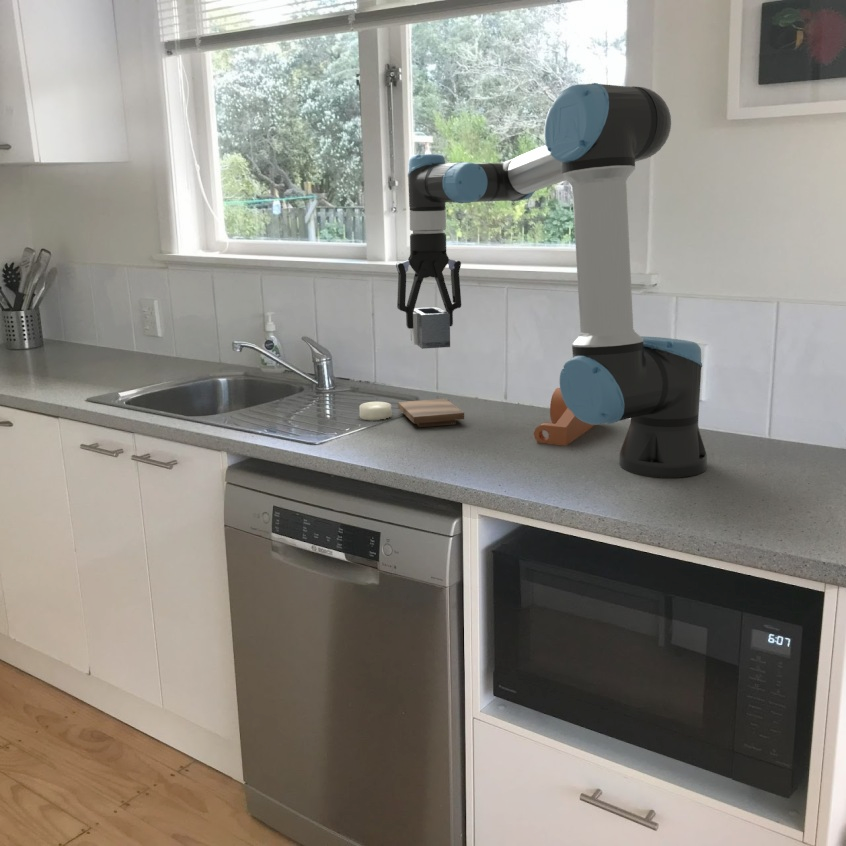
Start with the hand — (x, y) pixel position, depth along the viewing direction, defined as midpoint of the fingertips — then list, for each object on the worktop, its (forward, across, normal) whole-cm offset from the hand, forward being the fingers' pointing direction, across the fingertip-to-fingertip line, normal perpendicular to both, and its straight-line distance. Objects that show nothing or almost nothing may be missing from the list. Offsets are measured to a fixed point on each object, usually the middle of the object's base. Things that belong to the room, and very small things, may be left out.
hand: (430, 342), depth 196 cm
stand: (+17, 0, -1) cm, 17 cm away
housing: (0, 0, 0) cm, 0 cm away
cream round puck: (+17, +11, -7) cm, 22 cm away
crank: (+18, -24, +17) cm, 34 cm away
